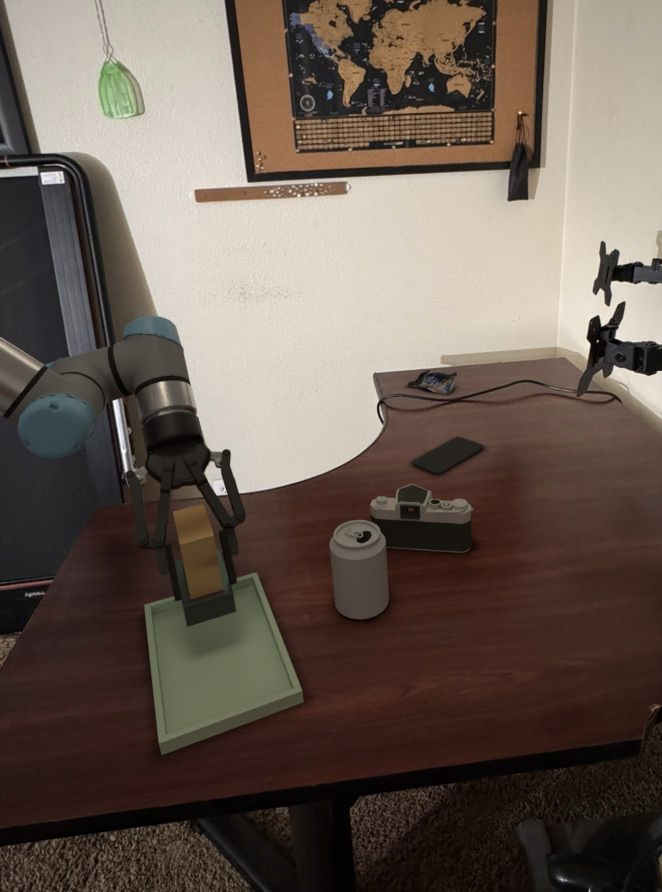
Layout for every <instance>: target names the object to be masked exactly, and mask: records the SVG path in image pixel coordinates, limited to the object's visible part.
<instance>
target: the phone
mask: <svg viewBox="0 0 662 892" xmlns="http://www.w3.org/2000/svg"><path fill="white" fill-rule="evenodd" d="M483 451H484V445H483V444H481V443H479V442H476V441H473V440H470V439H468V438H464V437H462V436H456V437H454V438H452V439H449V440H448V441H446V442H444V443H442V444H441V445H439V446H437V447H435V448H434V449H431V450H430V451H428V452H426V453H424V454H422V455H420V456H419V457H417V458H415V459H413V460H412V462H411V464H412V466H413V467H415V468H416V469H419V470H422V471H424V472H427V473H429V474H432V475H434V476H440V475H443V474H445V473H447V472H449V471H451V470H452V469H454V468H455V467H457V466H459V465H461V464H462V463H464V462H466V461H467V460H469V459H471V458H473V457H474V456H476V455H478V454H480V453H481V452H483Z"/></svg>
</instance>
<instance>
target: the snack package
mask: <svg viewBox="0 0 662 892" xmlns="http://www.w3.org/2000/svg"><path fill="white" fill-rule="evenodd" d="M457 375H458V373H457V372H455V371H454V372H453V373H451V374H447V373H444V370H442V371H441V372H439V371H438V372H431V370H430V369H427V370H424V371H422V372H420V373H419V375H418V377H417V378H416V379H415V380H413V381H408V383H407V387H409V388H417V389H427V390H429V391H431V392H434V393H437V394H438V392H437V391H436V390H434V389H433V388H430V386H432V387H435V388H438V389H440V390H441V391H442V393H443V394H445V395H450V393H451V391H452V390H453V388H454V386H455V382H456V379H457ZM442 393H439V394H440V395H441V394H442Z"/></svg>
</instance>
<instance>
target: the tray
mask: <svg viewBox="0 0 662 892" xmlns="http://www.w3.org/2000/svg"><path fill="white" fill-rule="evenodd" d="M236 578H237V582H236V584H233V585H231V587H232V590H233V594H234V600H235V606H236V612H234V613H231V614H227V615H224V616H221V617H218V618H215V619H211V620H208V621H205V622H202V623H199V624H195V625H192V626H189V627H187V624H186V620H185V615H184V610H183V605H182V600H179V601H176V602H175V598H174V595H173V596H170V597H166V598H163V599H159V600H156V601H153V602H150V603H145V604H144V605H143V609H144V617H145V627H146V637H147V645H148V656H149V666H150V673H151V684H152V694H153V702H154V703H153V704H154V712H155V722H156V731H157V741H158V747H159V751H160V755H161V756H164V755H167V754H169V753H171V752H174V751H177V750H180V749H182V748H185V747H188V746H190V745H193V744H195V743H198V742H201V741H203V740H206V739H209V738H212V737H214V736H217V735H221V734H222V733H226V732H227V731H228V732H229V731H230V730H233V729H236V728H238V727H241V726H244V725H246V724H249V723H252V722H254V721H258V720H261V719H262V718H265V717H268V716H271V715H273V714H276V713H278V712H281V711H284V710H286V709H289V708H292V707H294V706H297V705H300V704H302V703H304V701H305V700H304V692H303V689H302V686H301V684H300V681H299V678H298V676H297V673H296V670H295V668H294V665H293V663H292V660H291V658H290V654H289V652H288V650H287V647H286V644H285V642H284V639H283V637H282V634H281V631H280V629H279V626H278V624H277V622H276V619H275V616H274V614H273V611H272V608H271V606H270V603H269V600H268V598H267V595H266V593H265V590H264V588H263V585H262V582H261V580H260V577H259V574H258V572H253V573H249V574H245V575H242V576H239V577H236Z"/></svg>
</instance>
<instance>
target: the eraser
mask: <svg viewBox="0 0 662 892" xmlns="http://www.w3.org/2000/svg"><path fill="white" fill-rule="evenodd" d="M206 508H207V507H206V505H205V503H201V504H197V505H193V506H189V507H185V508H181V509H177V510H173V511H172V516H173V521H174V526H175V531H176V535H177V542H178V546H179V551H180V556H181V557H180V558H181V559H178V560H174V563H175V568H176V573H177V578H178V583H179V588H180V593H181V598H182V605H183V610H184V615H185V620H186V624H187V627H189V626H192V625H195V624H199V623H202V622H205V621H208V620H211V619H215V618H218V617H221V616H224V615H227V614H231V613H234V612H236V606H235V600H234V594H233V590H232V587H231V584H230V581H229V578H228V573H227V569H226V565H225V561H224V557H223V556H222V555H223V554H222V552H221V549H220V548H218V549H217V545H216V538H215V534H214V531H213V527H212V524H211V521H210V518H209V515H208V511H207V509H206Z"/></svg>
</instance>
